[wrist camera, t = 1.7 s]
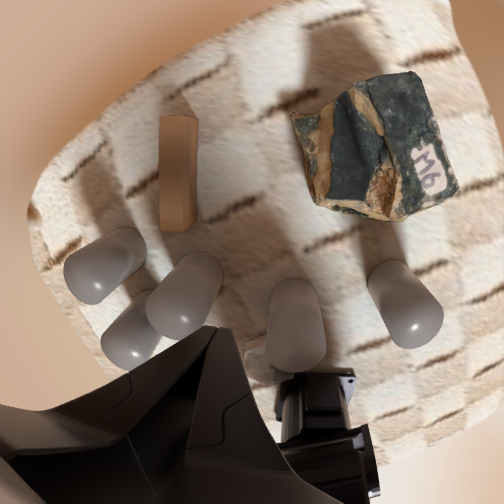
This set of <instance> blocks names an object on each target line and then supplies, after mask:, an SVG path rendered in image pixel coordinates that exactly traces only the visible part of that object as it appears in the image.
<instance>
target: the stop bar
mask: <svg viewBox="0 0 504 504" xmlns="http://www.w3.org/2000/svg"><path fill="white" fill-rule="evenodd" d="M197 139H198V119H196V118H192V117H189V116H186V115H171V116H160V128H159V217H160V231H175V232H183V231H184V230H186V229H187V228H188V227H189V226H190V225H192V224H193V223H194V222H195V221H196V184H197Z"/></svg>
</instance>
